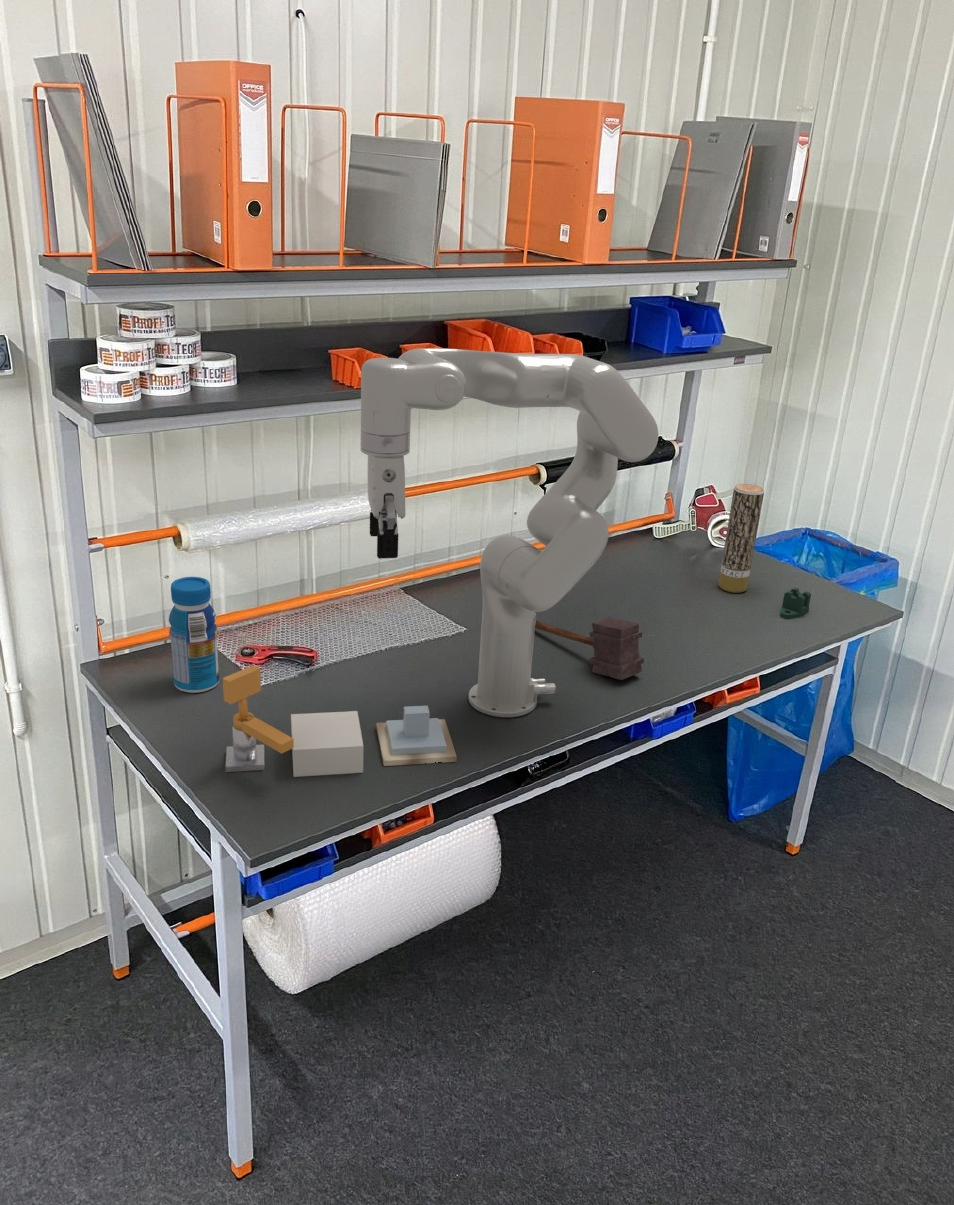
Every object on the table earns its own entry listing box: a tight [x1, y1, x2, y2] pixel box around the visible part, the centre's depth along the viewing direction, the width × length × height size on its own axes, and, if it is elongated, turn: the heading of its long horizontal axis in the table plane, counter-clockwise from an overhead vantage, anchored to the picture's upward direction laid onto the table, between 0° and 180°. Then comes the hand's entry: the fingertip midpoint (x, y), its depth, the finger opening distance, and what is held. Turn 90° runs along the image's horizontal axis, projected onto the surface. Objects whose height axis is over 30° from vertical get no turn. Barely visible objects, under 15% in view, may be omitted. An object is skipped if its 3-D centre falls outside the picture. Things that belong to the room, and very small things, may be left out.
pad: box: [375, 718, 458, 767], centre depth 171 cm, size 12×12×1 cm
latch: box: [222, 664, 294, 755], centre depth 157 cm, size 12×6×9 cm, turn 50°
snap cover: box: [385, 705, 447, 755], centre depth 170 cm, size 9×9×6 cm
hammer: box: [535, 616, 645, 681], centre depth 206 cm, size 7×33×10 cm, turn 41°
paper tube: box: [718, 483, 765, 594], centre depth 238 cm, size 7×7×25 cm
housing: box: [290, 710, 364, 778], centre depth 166 cm, size 11×11×5 cm
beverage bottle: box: [168, 576, 220, 694], centre depth 183 cm, size 8×8×20 cm
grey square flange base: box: [225, 724, 265, 773], centre depth 163 cm, size 6×6×6 cm
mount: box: [779, 587, 812, 620], centre depth 231 cm, size 11×4×5 cm, turn 137°
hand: (383, 546), depth 162 cm, fingers open, 9 cm apart
